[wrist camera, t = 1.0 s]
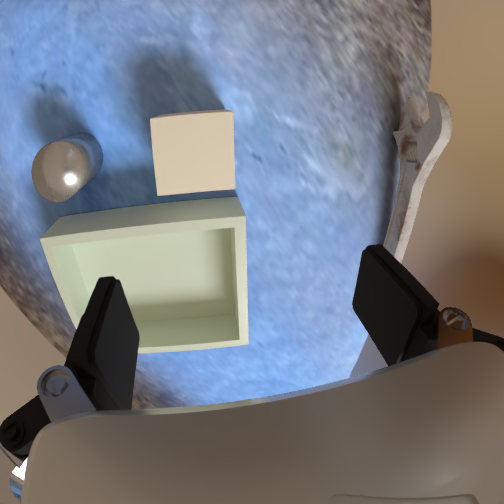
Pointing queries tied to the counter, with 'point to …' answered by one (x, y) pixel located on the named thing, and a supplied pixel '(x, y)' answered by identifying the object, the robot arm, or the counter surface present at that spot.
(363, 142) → the counter surface
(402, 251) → the wrench
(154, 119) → the flour box
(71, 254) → the crate
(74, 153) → the tea tin
